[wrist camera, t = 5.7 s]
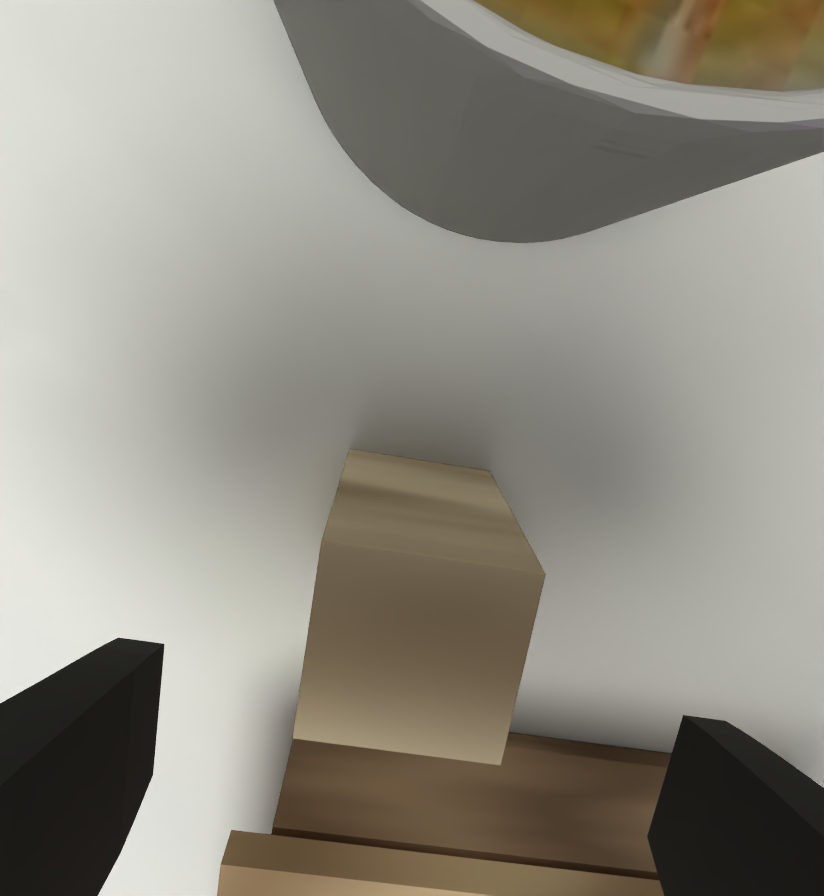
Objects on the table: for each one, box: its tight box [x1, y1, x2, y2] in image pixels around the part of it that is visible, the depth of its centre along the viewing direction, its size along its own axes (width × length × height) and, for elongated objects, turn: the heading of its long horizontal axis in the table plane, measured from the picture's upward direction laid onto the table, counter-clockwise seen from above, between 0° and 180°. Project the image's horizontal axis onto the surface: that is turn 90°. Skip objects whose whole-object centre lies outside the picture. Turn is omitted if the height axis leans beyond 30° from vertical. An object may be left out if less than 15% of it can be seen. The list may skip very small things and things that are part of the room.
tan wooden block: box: [293, 449, 546, 765], centre depth 13 cm, size 4×4×6 cm
